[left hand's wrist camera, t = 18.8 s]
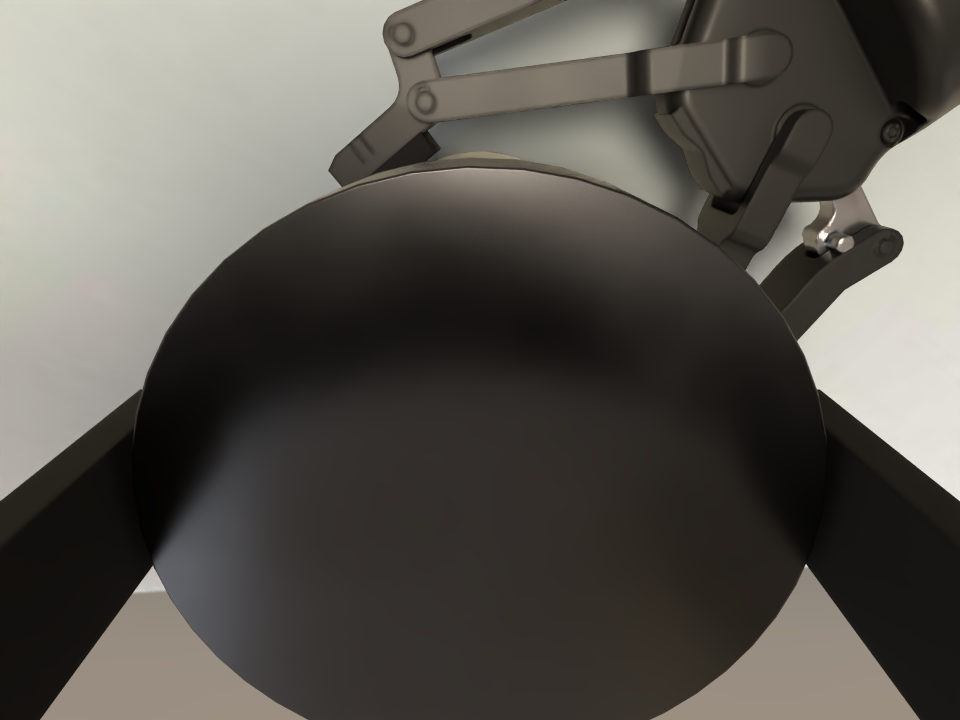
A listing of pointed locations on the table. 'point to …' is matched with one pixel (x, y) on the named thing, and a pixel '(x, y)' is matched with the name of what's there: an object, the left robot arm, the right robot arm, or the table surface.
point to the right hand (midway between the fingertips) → (392, 376)
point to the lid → (479, 452)
